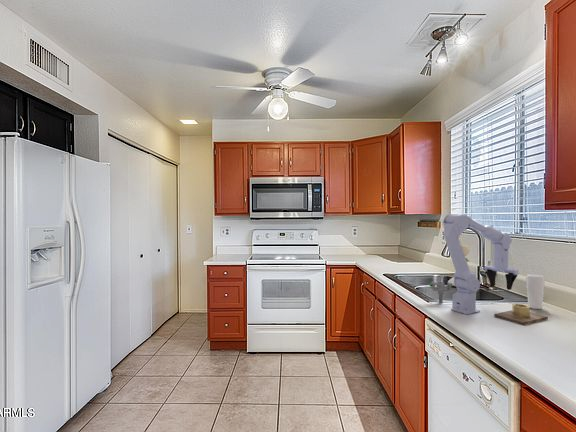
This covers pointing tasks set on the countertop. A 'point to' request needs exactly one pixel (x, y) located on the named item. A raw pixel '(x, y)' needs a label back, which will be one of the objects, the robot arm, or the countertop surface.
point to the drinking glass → (535, 290)
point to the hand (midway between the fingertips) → (500, 287)
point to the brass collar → (521, 310)
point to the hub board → (521, 320)
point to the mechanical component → (440, 289)
